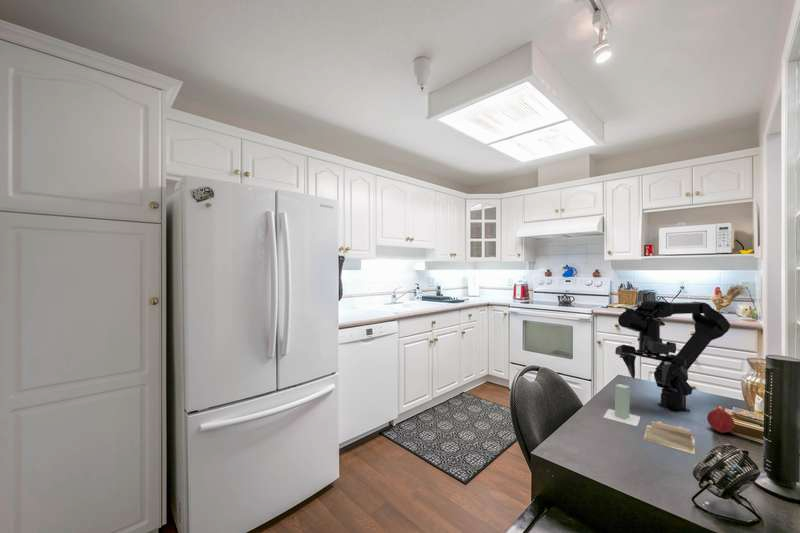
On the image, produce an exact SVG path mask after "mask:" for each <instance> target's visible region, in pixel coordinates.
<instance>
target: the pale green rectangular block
mask: <svg viewBox="0 0 800 533" xmlns="http://www.w3.org/2000/svg"><path fill="white" fill-rule="evenodd" d="M630 389H631V387H630V386H629V385H626V384H625V385H624V384H620V383H617V384H615V386H614V392H615V393H614V410H615V416H616V417H619V418H621V419H624V420H626V419H628V418H629V414H630V399H631V396H630V394H631V393H630V391H631V390H630Z"/></svg>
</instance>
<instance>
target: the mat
mask: <svg viewBox="0 0 800 533" xmlns="http://www.w3.org/2000/svg"><path fill="white" fill-rule="evenodd" d="M603 419H608V420H611V421H614V422H619V423H623V424H627V425H630V426H634V427H639V426H638V425H639V423H640V419H641V416H639V415H635V414H632V413H629V418H628V419H626V420H624V419H621V418H619V417H616V416H615V409H612V408H608V409H607V410H606V412H605V414H604V415H603Z"/></svg>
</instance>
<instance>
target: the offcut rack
mask: <svg viewBox="0 0 800 533" xmlns="http://www.w3.org/2000/svg"><path fill="white" fill-rule="evenodd" d="M695 439H696V438H695V436H692V433H691V429H689V428H688V429H687V428H684V427H683V426H674V425H670V424H666V423H663V422H662V421H660V420H659V421H651V424H650V425H649V424H647V425H646V427H645V431H644V435H643V438H642V440H644V441H648V442H651V443H655V444H658V445H661V446H664V447H668V448H672V449H675V450H679V451H682V452H685V453H689V454H692V455H695V454H696V443H695V442H696V440H695Z"/></svg>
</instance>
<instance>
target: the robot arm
mask: <svg viewBox="0 0 800 533" xmlns="http://www.w3.org/2000/svg"><path fill="white" fill-rule="evenodd" d="M683 314H684V315H685V314H687V315H688V314H691V316H692V317H691V318H692V320H693V321H694V333H693V334H692V335H691V336H690V338H689V339H688V340H687V341H686V343H685V344H684V345H683V346H682V348H681V349H680V350H679V351H678V353H677V354H676V352H677V343H676V342H672V341H667V342H666V343H664V342H663V337H662V338H661V330H660V329H661V327H663V326H665V325H666V323H665V322H664V321H662V320H661V319H665V318H668V317H672V316H673V315H683ZM617 323H618V325H619V326H620V327H622V328H624V329H627V330H630V331H633V332H636V333H637V332H639V336H638V337H637V342H638V349H636V348H635V346H632V345H629V344H620V345H618V346H616V347H615V349H614V350H615V352H614V353H615V355H617V356H618V357H619V358H620V359H622V360H623V362H624V364H625V365H626V367H627V369H628V372H629V375H630V376H631V378H632V379H635V378H636V363H635V362H636V358H637V357H641V358H644V359H645V358H646V359H650V360H655V361H660V362H659V364H658V365H657V366H656V367H655V370H654V373H653V376H654V381H655V383H656V386H657V387H658V388H660V389H661V393H660V402H657V405H659V407H660V406H661V407H662V408H664V409H666V410H669V411H671V412H677V413H678V412H690V411H691V409H689V408H687V396H689V395H690V396H691V395H692V393H693V389H694V388H693V387H692V386H691V385H690V384H689V383H688V382H687V381H688V380H689V373H688V371H689V369H690V368H691V366H692V365H693V364H694V363H695V362H696V361H697V359H698V358H699V356H700V355H701V354H702V353H703V351H705V349H706V348H707V347H708V345H709V344H710V343H711V342H712V341H715V340H716V339H719V338H721V337H723V336H724V335H726V334H727V333H728V331H730V328H731V323H730V321H729V320H728V319H727V318H726V317H725V316H724V314H722V313H721V312H719V311H717V310H716V309H714V308H713V307H712V306H711V305H710V304H709V303H706V302H702V301H691V302H670V301H669V302H668V301H663V300H653V299H645V300H643V301H642V304H640V305H639V306H638V307H637V308H635V309H632V308H625V310H624V311H622V313H621V314H620V315H619V316H618V319H617ZM671 353H672V354H671Z"/></svg>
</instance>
